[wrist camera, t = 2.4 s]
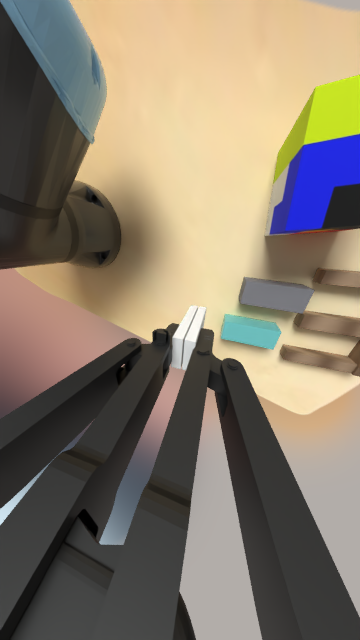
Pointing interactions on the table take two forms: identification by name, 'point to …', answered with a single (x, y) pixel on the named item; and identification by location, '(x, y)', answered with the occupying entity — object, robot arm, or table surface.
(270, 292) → the grey block
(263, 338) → the teal block
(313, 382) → the table surface
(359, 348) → the comb rack
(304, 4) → the table surface
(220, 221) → the table surface
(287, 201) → the puzzle toy
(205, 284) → the table surface
